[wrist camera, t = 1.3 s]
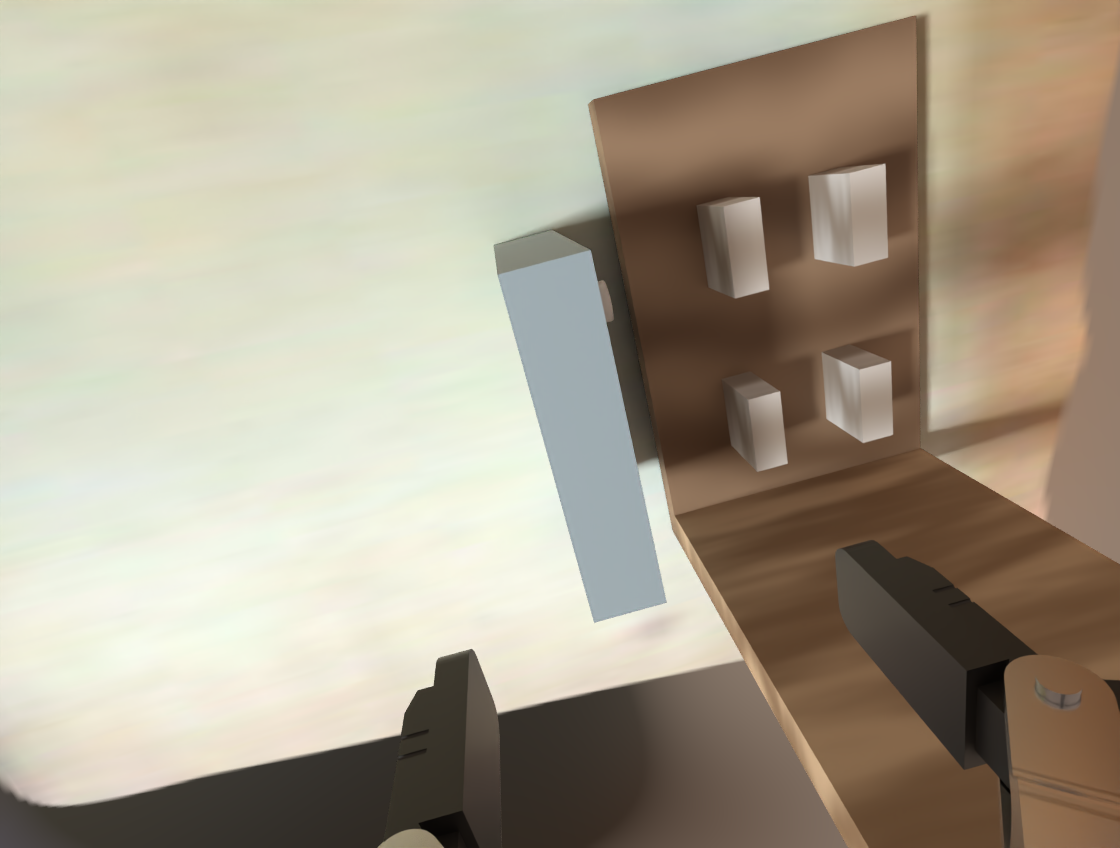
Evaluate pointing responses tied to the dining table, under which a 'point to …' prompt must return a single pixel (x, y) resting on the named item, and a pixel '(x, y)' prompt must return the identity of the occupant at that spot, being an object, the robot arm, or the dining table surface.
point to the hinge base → (820, 409)
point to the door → (582, 416)
